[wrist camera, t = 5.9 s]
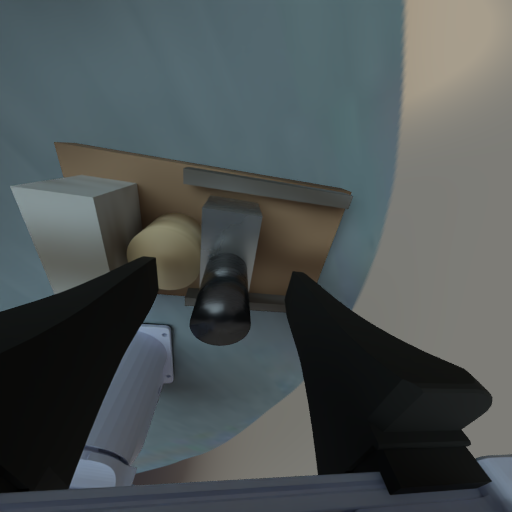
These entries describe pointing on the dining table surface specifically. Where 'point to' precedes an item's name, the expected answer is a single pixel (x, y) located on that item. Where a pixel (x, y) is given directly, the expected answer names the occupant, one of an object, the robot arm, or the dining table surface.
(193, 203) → the base
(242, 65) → the dining table surface
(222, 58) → the dining table surface
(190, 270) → the potato
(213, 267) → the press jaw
